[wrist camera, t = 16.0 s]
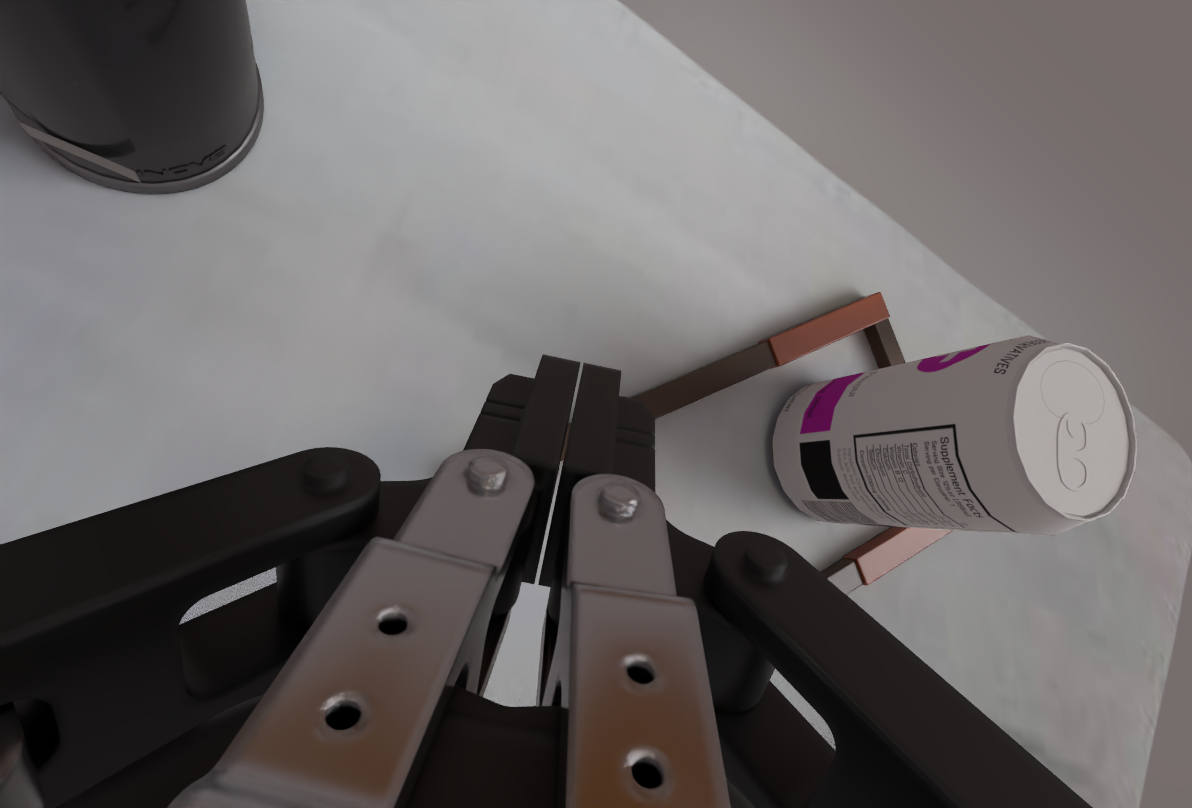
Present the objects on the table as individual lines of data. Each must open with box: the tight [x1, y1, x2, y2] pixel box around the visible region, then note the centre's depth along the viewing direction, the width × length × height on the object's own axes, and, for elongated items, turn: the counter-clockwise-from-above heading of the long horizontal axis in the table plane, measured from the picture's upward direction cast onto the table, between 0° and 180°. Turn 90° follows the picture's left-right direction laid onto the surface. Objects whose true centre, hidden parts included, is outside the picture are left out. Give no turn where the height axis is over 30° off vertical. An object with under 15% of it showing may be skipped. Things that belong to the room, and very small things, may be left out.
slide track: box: [561, 292, 953, 595], centre depth 38 cm, size 15×28×1 cm, turn 113°
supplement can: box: [772, 336, 1137, 536], centre depth 34 cm, size 8×8×15 cm
